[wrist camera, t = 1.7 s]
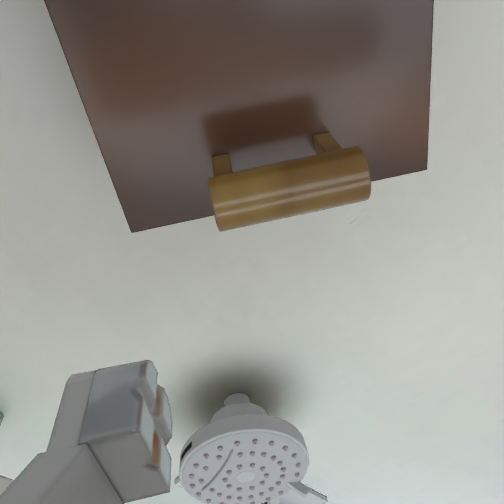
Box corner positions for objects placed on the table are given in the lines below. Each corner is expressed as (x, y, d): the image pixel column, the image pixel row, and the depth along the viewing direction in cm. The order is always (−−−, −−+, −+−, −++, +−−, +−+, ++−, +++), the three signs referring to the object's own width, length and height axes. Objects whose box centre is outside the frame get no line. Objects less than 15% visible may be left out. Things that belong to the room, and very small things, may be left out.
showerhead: (278, 529, 36) (158, 510, 33) (264, 447, 43) (162, 424, 39) (344, 459, 32) (215, 430, 29) (319, 380, 38) (210, 348, 35)
